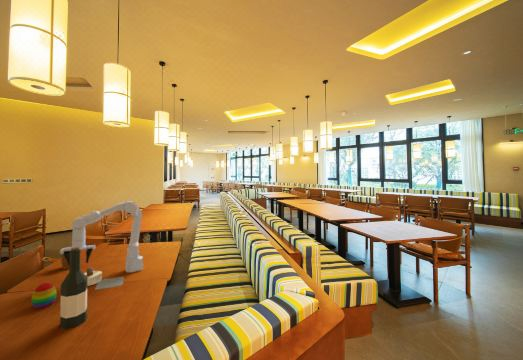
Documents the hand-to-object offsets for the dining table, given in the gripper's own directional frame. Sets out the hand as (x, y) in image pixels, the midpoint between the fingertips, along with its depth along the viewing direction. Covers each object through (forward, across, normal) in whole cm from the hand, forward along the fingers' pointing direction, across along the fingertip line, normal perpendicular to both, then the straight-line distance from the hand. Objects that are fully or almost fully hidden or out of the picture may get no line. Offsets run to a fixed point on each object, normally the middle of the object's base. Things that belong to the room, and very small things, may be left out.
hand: (78, 263), depth 123 cm
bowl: (+10, -6, +5) cm, 13 cm away
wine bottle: (+10, -7, +42) cm, 44 cm away
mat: (+10, -16, +11) cm, 22 cm away
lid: (+6, -6, +5) cm, 10 cm away
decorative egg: (+10, +8, +21) cm, 25 cm away
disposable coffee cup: (+10, +10, -27) cm, 31 cm away
